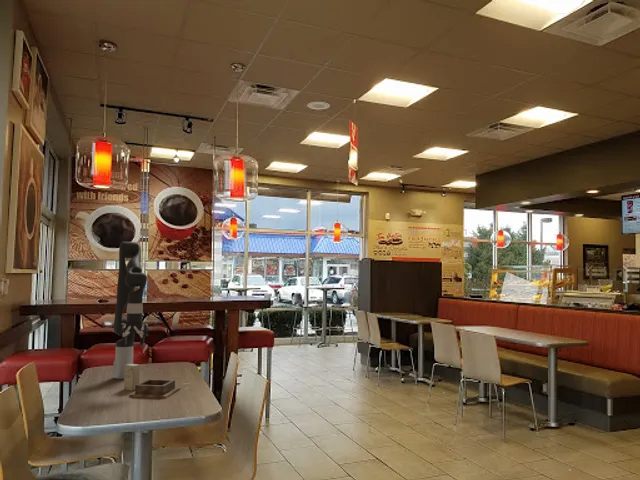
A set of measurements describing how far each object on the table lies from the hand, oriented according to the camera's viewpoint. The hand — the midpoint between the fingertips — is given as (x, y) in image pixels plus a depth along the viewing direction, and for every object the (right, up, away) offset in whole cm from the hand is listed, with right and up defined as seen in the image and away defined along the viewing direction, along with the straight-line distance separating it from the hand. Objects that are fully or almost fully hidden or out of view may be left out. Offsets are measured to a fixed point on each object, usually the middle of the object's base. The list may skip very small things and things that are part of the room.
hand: (133, 344), depth 254 cm
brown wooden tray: (+14, -22, -9) cm, 27 cm away
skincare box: (0, -22, -2) cm, 22 cm away
